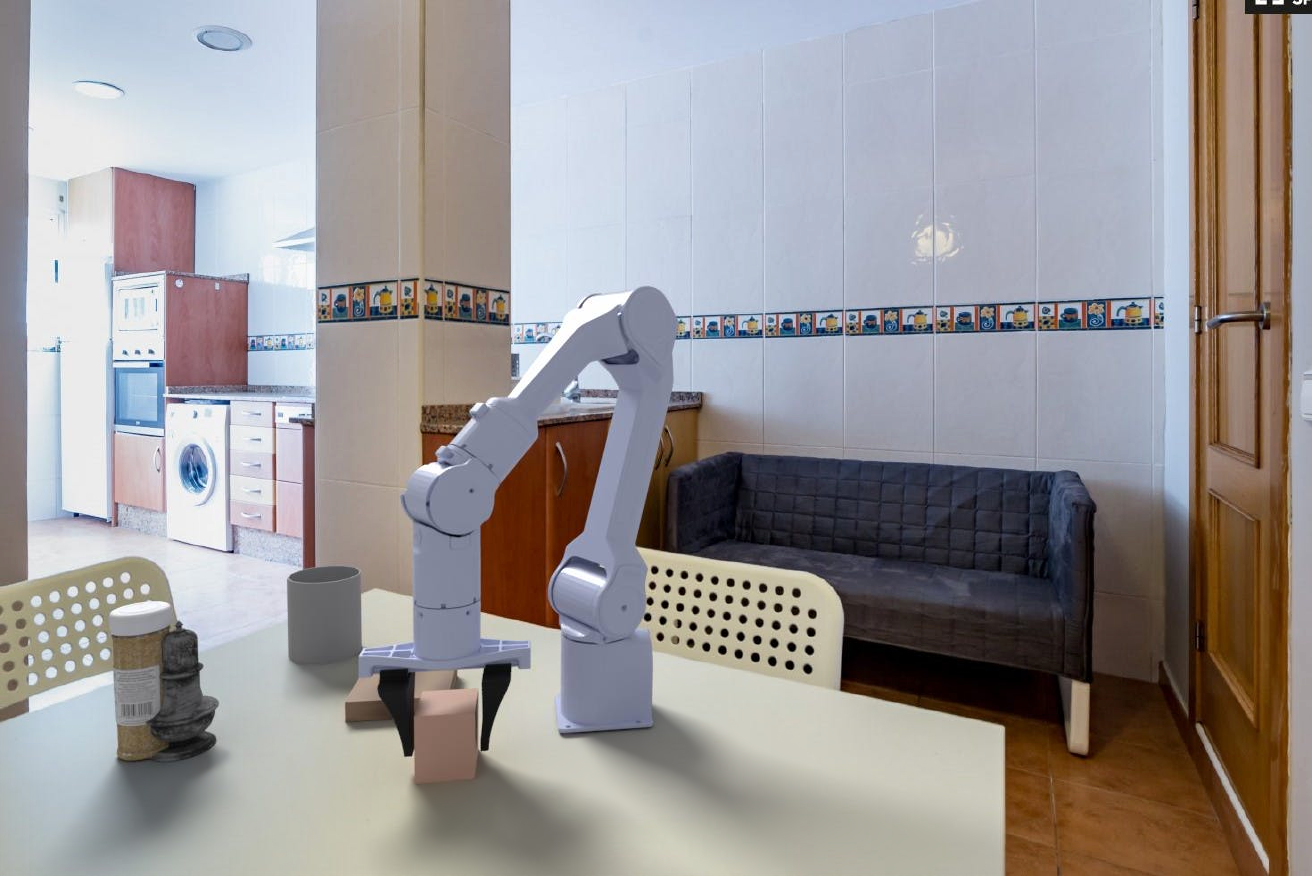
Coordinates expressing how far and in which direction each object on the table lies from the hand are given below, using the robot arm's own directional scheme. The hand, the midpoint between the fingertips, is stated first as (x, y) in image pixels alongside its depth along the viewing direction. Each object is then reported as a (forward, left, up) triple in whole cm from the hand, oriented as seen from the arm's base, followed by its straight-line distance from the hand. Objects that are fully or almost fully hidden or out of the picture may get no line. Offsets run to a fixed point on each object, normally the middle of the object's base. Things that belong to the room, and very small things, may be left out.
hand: (447, 748), depth 63 cm
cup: (+18, -30, -2) cm, 35 cm away
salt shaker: (+24, -7, -2) cm, 26 cm away
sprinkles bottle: (+27, -7, -2) cm, 28 cm away
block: (0, 0, -2) cm, 2 cm away
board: (+6, -15, -2) cm, 16 cm away
